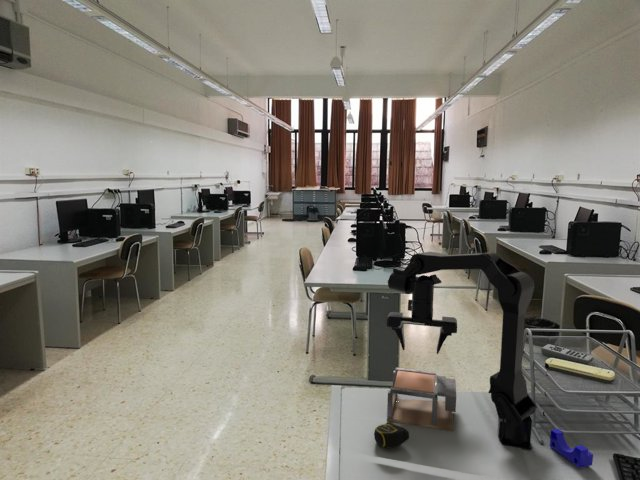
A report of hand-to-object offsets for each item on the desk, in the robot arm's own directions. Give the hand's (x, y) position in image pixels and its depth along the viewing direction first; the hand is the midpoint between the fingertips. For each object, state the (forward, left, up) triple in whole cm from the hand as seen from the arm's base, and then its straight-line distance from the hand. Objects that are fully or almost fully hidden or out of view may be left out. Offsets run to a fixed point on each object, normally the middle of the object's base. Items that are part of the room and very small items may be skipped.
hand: (420, 351), depth 120 cm
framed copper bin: (-1, +9, -13) cm, 16 cm away
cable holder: (-34, +18, -14) cm, 41 cm away
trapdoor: (-5, +9, -5) cm, 11 cm away
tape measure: (+2, +25, -13) cm, 28 cm away
